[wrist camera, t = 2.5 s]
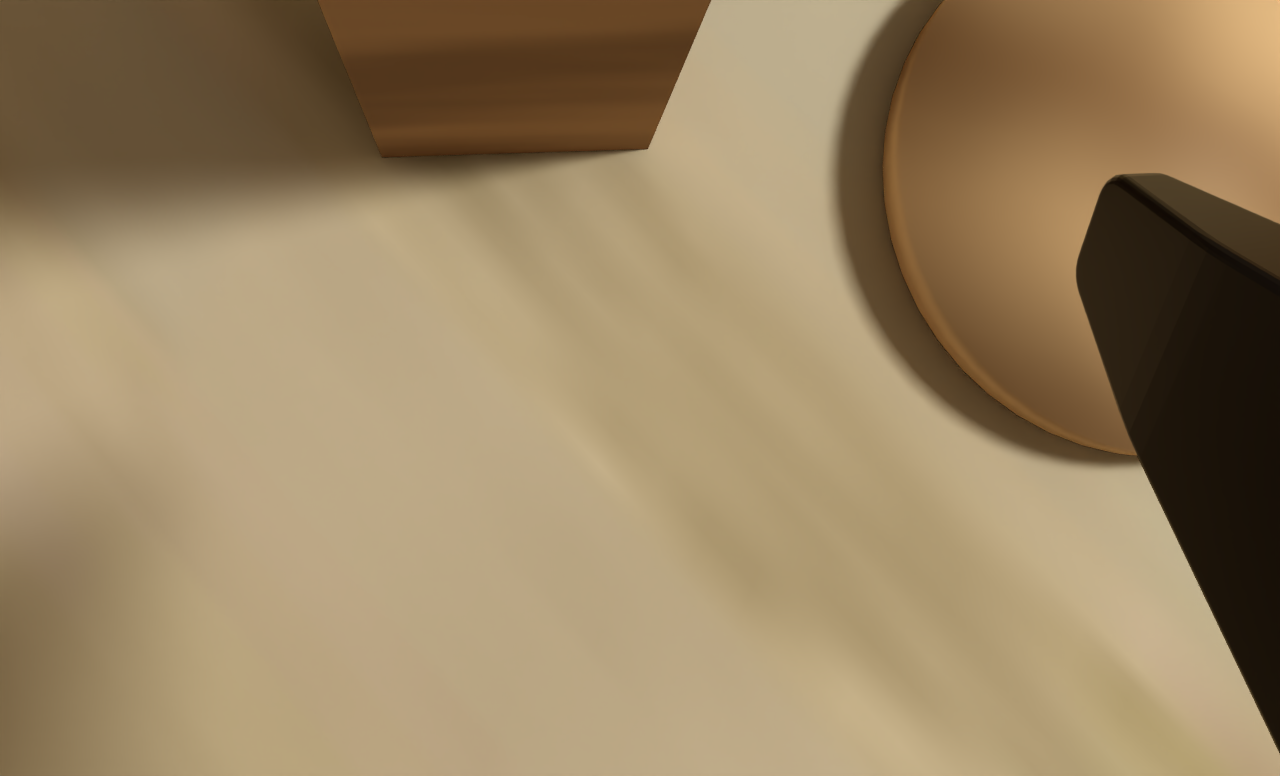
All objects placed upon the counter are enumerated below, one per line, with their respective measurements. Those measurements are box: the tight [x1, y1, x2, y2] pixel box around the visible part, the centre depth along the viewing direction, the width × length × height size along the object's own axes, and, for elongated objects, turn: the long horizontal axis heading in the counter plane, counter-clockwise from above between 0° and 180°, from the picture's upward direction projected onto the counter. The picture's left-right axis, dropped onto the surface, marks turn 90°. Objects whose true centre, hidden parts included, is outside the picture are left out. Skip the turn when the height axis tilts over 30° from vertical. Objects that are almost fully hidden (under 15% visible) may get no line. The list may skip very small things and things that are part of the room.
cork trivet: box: [882, 0, 1280, 456], centre depth 23 cm, size 11×11×1 cm
